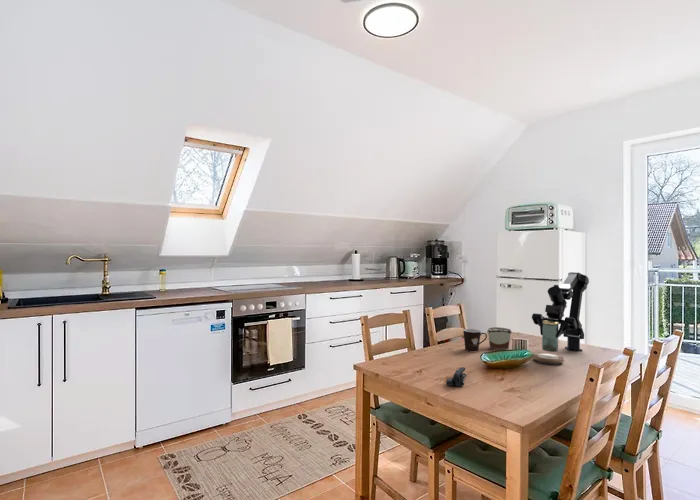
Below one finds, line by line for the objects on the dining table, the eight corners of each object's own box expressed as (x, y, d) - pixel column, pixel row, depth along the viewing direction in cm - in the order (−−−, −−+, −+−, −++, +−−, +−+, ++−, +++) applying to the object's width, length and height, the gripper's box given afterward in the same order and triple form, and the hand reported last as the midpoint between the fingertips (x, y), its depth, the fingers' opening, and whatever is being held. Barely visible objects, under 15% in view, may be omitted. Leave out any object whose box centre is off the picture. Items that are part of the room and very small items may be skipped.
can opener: (462, 390, 156) (463, 375, 155) (444, 387, 159) (444, 372, 159) (473, 377, 171) (473, 363, 171) (455, 374, 174) (456, 361, 174)
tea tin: (541, 347, 198) (542, 319, 197) (557, 348, 195) (558, 320, 195) (542, 350, 191) (542, 322, 191) (558, 352, 189) (559, 323, 188)
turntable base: (533, 358, 200) (533, 356, 200) (555, 359, 199) (555, 357, 199) (539, 363, 190) (539, 362, 190) (563, 365, 189) (563, 363, 189)
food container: (508, 346, 223) (508, 327, 223) (511, 349, 217) (511, 329, 217) (484, 345, 224) (484, 326, 224) (487, 348, 218) (487, 329, 218)
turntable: (529, 354, 202) (529, 351, 202) (557, 356, 200) (557, 353, 200) (537, 362, 189) (537, 359, 189) (568, 363, 187) (568, 360, 187)
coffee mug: (462, 351, 211) (463, 331, 211) (463, 347, 219) (463, 328, 219) (487, 353, 208) (487, 333, 208) (486, 349, 216) (487, 329, 216)
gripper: (533, 296, 202) (523, 322, 194) (575, 300, 189) (567, 328, 181) (539, 310, 208) (530, 336, 200) (580, 315, 195) (572, 343, 187)
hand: (549, 335), depth 192 cm, fingers closed on tea tin, 7 cm apart
